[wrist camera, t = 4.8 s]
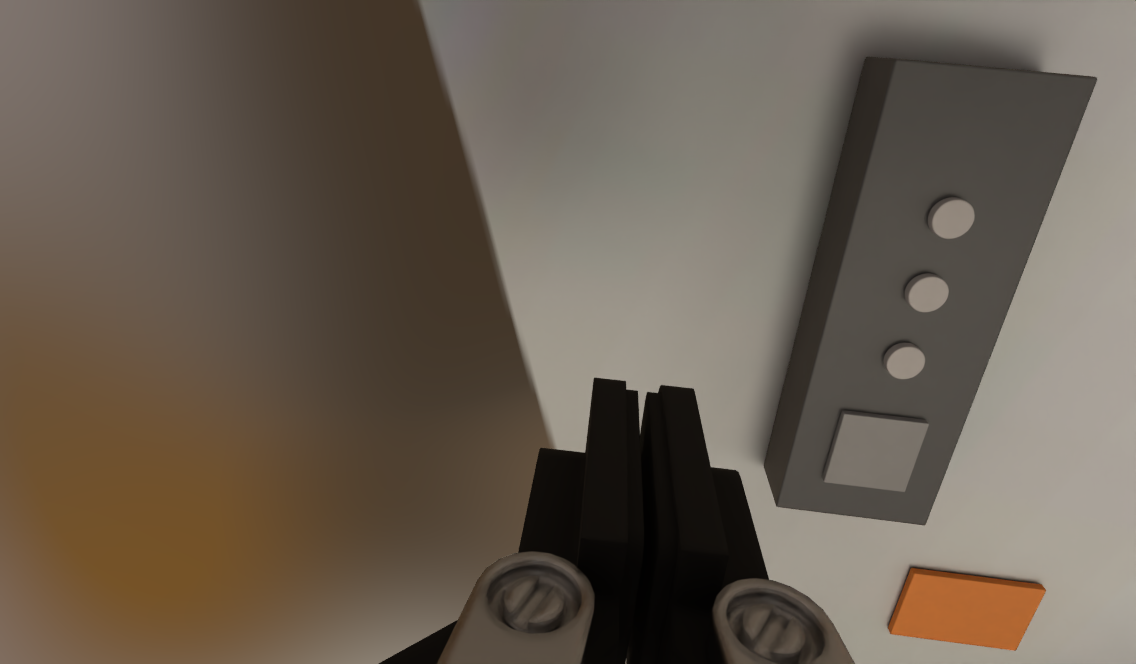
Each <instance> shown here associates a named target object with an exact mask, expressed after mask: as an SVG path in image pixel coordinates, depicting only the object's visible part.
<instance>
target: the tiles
mask: <svg viewBox="0 0 1136 664" xmlns="http://www.w3.org/2000/svg"><path fill="white" fill-rule="evenodd" d="M1045 592H1046V589H1045V588H1044V587H1043V585H1041V584H1034V583H1026V582H1019V581H1011V580H1003V579H995V578H987V577H980V576H972V575H964V574H956V573H948V572H940V571H933V570H925V569H917V568H911V570H910V572H909V575H908V577H907V580H906V583H905V585H904V588H903V590H902V593H901V595H900V598H899V601H898V603H897V606H896V608H895V611H894V613H893V616H892V619H891V621H890V624H889V626H888V629H889V632H890V634H894V635H902V636H909V637H917V638H924V639H932V640H939V641H947V642H955V643H962V644H970V645H977V646H985V647H992V648H1000V649H1007V650H1016V649H1017V647H1018V645H1019V643H1020V641H1021V639H1022V637H1023V635H1024V633H1025V631H1026V629H1027V627H1028V625H1029V623H1030V621H1031V619H1032V617H1033V615H1034V613H1035V612H1036V610H1037V608H1038V606H1039V604H1040V602H1041V600H1042V598H1043V596H1044V594H1045Z"/></svg>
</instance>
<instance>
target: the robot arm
mask: <svg viewBox="0 0 1136 664" xmlns="http://www.w3.org/2000/svg"><path fill="white" fill-rule="evenodd" d="M625 662H626V664H855V663H854V661H853V659H852V657H851V655H850V654H849V652H848V650H847V648H846V646H845V644H844V643H843V641H842V639H841V637H840V635H839V633H838V632H837V630H836V628H835V626H834V624H833V623H832V621H831V620H830V619H829V617H828V616H827V615H826V613H825V612H824V610H823V609H822V608H821V607H819V606H818V605H817V604H816V603H815V602H814V601H813V600H811V599H810V598H809V597H808V596H806V595H804V594H803V593H801V592H799V591H797V590H796V589H794V588H792V587H790V586H787V585H785V584H782V583H779V582H776V581H773V580H769V578H768V575H767V571H766V567H765V564H764V560H763V556H762V553H761V549H760V546H759V542H758V538H757V535H756V531H755V528H754V524H753V520H752V517H751V513H750V509H749V506H748V502H747V499H746V495H745V491H744V488H743V484H742V481H741V477H740V475H739V472H737V471H736V470H729V469H721V468H712V467H710V462H709V457H708V452H707V448H706V443H705V438H704V434H703V429H702V424H701V419H700V415H699V410H698V405H697V401H696V396H695V391H694V389H692V388H683V387H674V386H665V385H661V386H660V388H659V392H658V393H652V392H647V395H646V400H645V406H644V413H643V419H642V426H641V433H640V428H639V406H638V391H634V390H626V381H620V380H611V379H602V378H594V382H593V390H592V399H591V408H590V417H589V425H588V434H587V443H586V452H585V453H582V452H573V451H565V450H556V449H547V448H540V451H539V454H538V459H537V464H536V469H535V474H534V479H533V484H532V488H531V493H530V498H529V503H528V508H527V513H526V518H525V522H524V528H523V532H522V537H521V542H520V547H519V552H518V553H514V554H512V555H509V556H506V557H503V558H500V559H498V560H497V561H496V562H494V563H493V564H491V565H490V566H489V567H487V568H486V569H485V570H484V572H483V573H482V574H481V576H480V577H479V579H478V580H477V582H476V584H475V586H474V588H473V590H472V592H471V594H470V596H469V598H468V600H467V602H466V604H465V607H464V609H463V611H462V613H461V615H460V617H459V619H458V620H457V621H455V622H453V623H451V624H450V625H448V626H446V627H444V628H442V629H441V630H439V631H437V632H435V633H433V634H431V635H430V636H428V637H426V638H424V639H422V640H421V641H419V642H417V643H415V644H413V645H411V646H410V647H408V648H406V649H405V650H402V651H401V652H399V653H397V654H395V655H393V656H392V657H390V658H388V659H386V660H385V661H382V662H381V663H379V664H625Z"/></svg>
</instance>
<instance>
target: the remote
mask: <svg viewBox="0 0 1136 664" xmlns="http://www.w3.org/2000/svg"><path fill="white" fill-rule="evenodd" d="M1096 81H1097V78H1096V77H1091V76H1080V75H1070V74H1059V73H1048V72H1037V71H1026V70H1016V69H1005V68H994V67H983V66H972V65H962V64H951V63H940V62H929V61H918V60H908V59H897V58H878V57H866V58H865V61H864V65H863V69H862V73H861V77H860V81H859V85H858V89H857V93H856V97H855V101H854V105H853V109H852V113H851V117H850V121H849V125H848V129H847V133H846V137H845V141H844V145H843V149H842V153H841V157H840V161H839V165H838V169H837V173H836V177H835V181H834V185H833V189H832V194H831V198H830V202H829V206H828V210H827V214H826V218H825V222H824V226H823V230H822V234H821V238H820V242H819V246H818V250H817V254H816V258H815V262H814V266H813V270H812V274H811V278H810V282H809V286H808V290H807V294H806V298H805V302H804V306H803V310H802V314H801V318H800V322H799V326H798V330H797V334H796V338H795V342H794V346H793V350H792V354H791V358H790V362H789V367H788V371H787V375H786V379H785V383H784V387H783V391H782V395H781V399H780V403H779V407H778V411H777V415H776V419H775V423H774V427H773V431H772V435H771V439H770V443H769V447H768V451H767V455H766V459H765V463H764V468H765V472H766V475H767V478H768V481H769V484H770V487H771V491H772V494H773V497H774V500H775V503H776V506H777V507H783V508H791V509H799V510H807V511H815V512H823V513H831V514H839V515H847V516H855V517H863V518H871V519H879V520H887V521H895V522H903V523H911V524H919V525H925V524H926V522H927V519H928V517H929V514H930V512H931V509H932V506H933V504H934V501H935V499H936V496H937V493H938V491H939V488H940V486H941V483H942V480H943V478H944V475H945V473H946V470H947V468H948V465H949V462H950V460H951V457H952V455H953V452H954V449H955V447H956V444H957V442H958V439H959V436H960V434H961V431H962V429H963V426H964V423H965V421H966V418H967V416H968V413H969V411H970V408H971V405H972V403H973V400H974V398H975V395H976V392H977V390H978V387H979V385H980V382H981V379H982V377H983V374H984V372H985V369H986V366H987V364H988V361H989V359H990V356H991V354H992V351H993V348H994V346H995V343H996V341H997V338H998V335H999V333H1000V330H1001V328H1002V325H1003V322H1004V320H1005V317H1006V315H1007V312H1008V309H1009V307H1010V304H1011V302H1012V299H1013V297H1014V294H1015V291H1016V289H1017V286H1018V284H1019V281H1020V278H1021V276H1022V273H1023V271H1024V268H1025V265H1026V263H1027V260H1028V258H1029V255H1030V252H1031V250H1032V247H1033V245H1034V242H1035V240H1036V237H1037V234H1038V232H1039V229H1040V227H1041V224H1042V221H1043V219H1044V216H1045V214H1046V211H1047V208H1048V206H1049V203H1050V201H1051V198H1052V195H1053V193H1054V190H1055V188H1056V185H1057V183H1058V180H1059V177H1060V175H1061V172H1062V170H1063V167H1064V164H1065V162H1066V159H1067V157H1068V154H1069V151H1070V149H1071V146H1072V144H1073V141H1074V138H1075V136H1076V133H1077V131H1078V128H1079V126H1080V123H1081V120H1082V118H1083V115H1084V113H1085V110H1086V107H1087V105H1088V102H1089V100H1090V97H1091V94H1092V92H1093V89H1094V87H1095V84H1096Z"/></svg>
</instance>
